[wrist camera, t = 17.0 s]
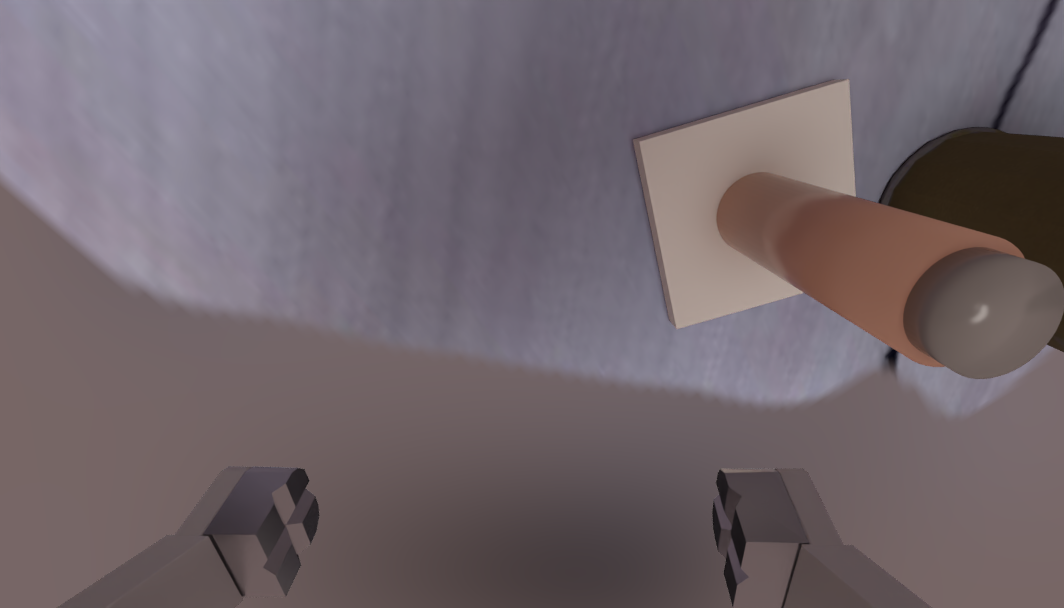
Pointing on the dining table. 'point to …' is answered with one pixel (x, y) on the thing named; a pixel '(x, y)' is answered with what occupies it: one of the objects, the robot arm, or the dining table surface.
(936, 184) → the canister
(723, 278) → the board
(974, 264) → the shaker
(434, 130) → the dining table surface
